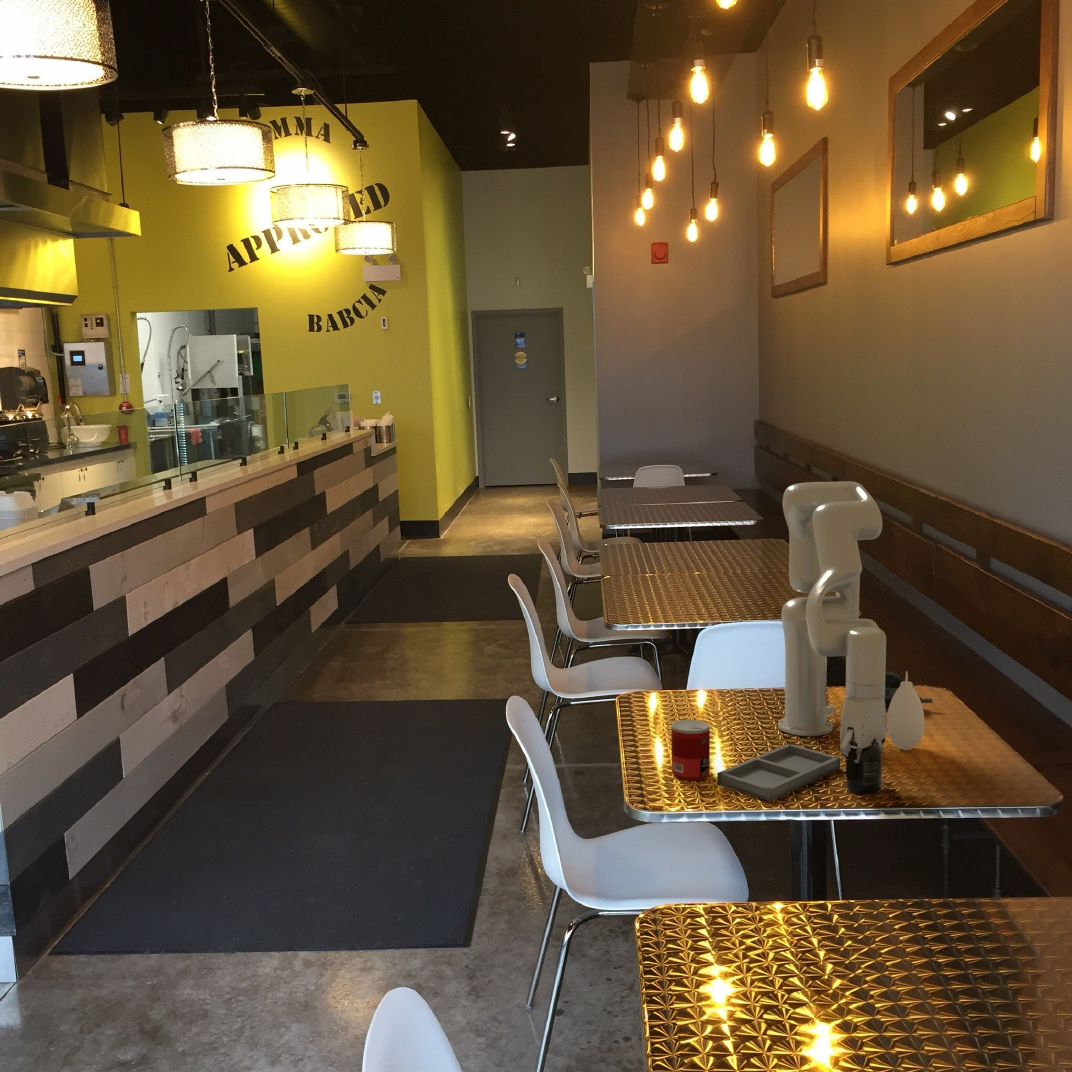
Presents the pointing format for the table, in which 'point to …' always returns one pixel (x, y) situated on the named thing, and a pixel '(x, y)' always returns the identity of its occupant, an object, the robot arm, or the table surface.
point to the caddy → (778, 772)
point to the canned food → (690, 750)
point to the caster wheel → (893, 684)
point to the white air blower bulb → (905, 717)
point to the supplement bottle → (868, 771)
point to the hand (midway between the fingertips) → (863, 774)
